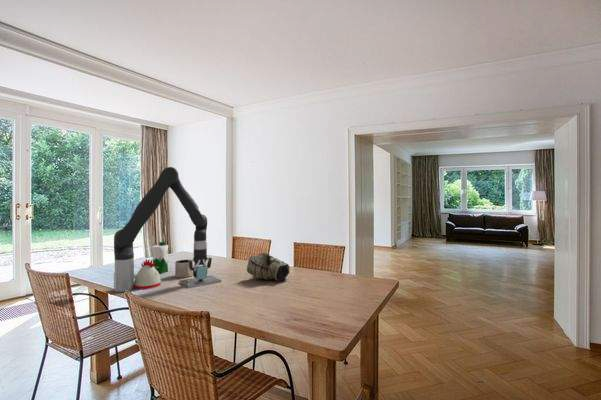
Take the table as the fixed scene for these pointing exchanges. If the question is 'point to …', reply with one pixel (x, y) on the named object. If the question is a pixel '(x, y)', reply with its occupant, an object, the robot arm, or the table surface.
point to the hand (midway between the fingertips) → (200, 276)
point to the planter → (182, 269)
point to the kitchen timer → (147, 276)
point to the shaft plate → (199, 281)
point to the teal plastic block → (201, 272)
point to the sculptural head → (267, 267)
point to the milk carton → (160, 257)
